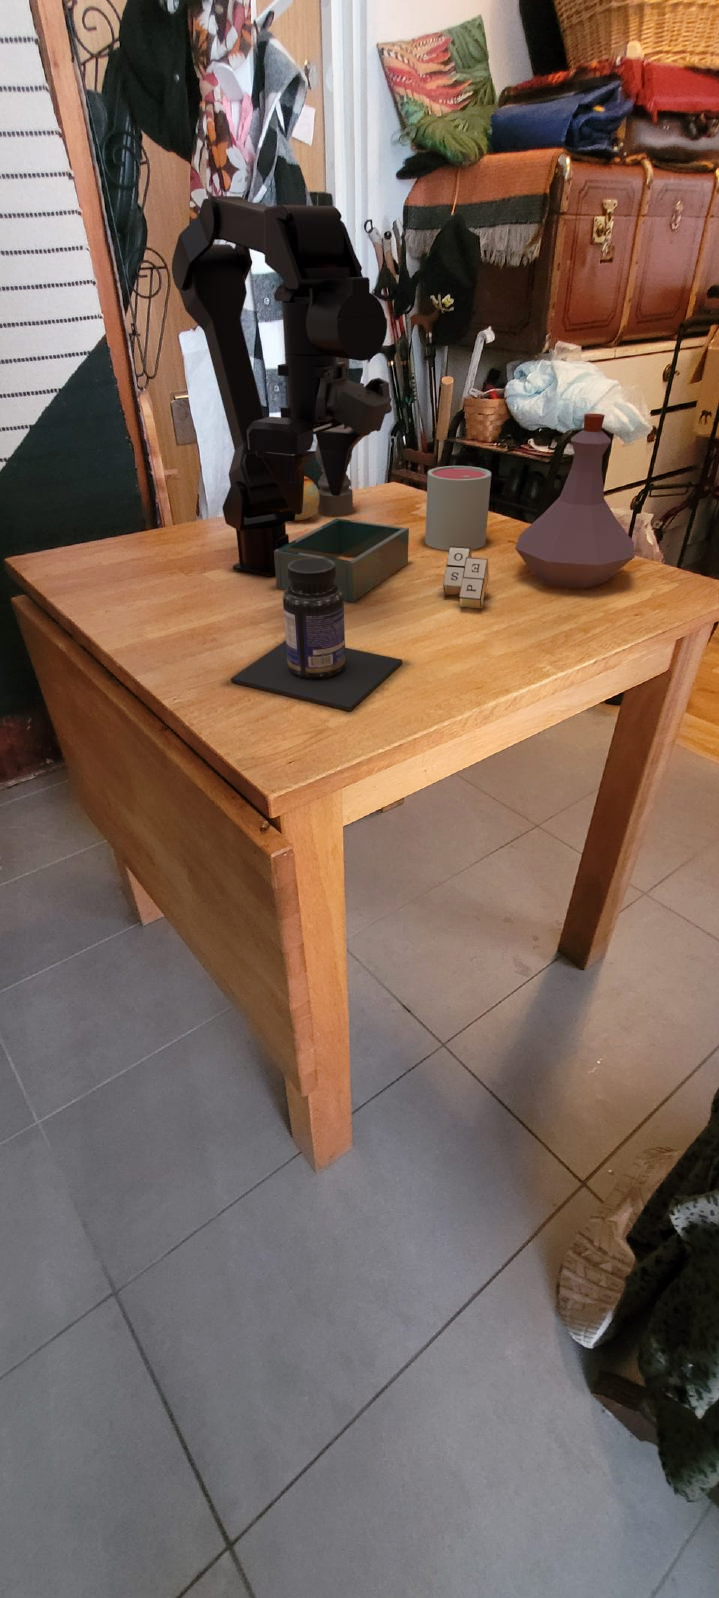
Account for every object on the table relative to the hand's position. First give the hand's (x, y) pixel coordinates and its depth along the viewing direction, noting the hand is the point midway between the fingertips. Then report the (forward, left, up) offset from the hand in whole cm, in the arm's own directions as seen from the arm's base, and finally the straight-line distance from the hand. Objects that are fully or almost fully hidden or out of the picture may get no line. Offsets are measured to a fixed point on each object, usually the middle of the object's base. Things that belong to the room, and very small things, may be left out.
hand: (317, 504), depth 91 cm
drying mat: (+10, -18, -12) cm, 24 cm away
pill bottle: (+10, -18, -12) cm, 24 cm away
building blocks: (+16, +9, -12) cm, 22 cm away
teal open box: (-2, +10, -12) cm, 16 cm away
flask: (+26, +23, -12) cm, 37 cm away
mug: (+5, +33, -12) cm, 36 cm away
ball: (-22, +31, -12) cm, 40 cm away
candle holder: (-19, +38, -12) cm, 44 cm away
